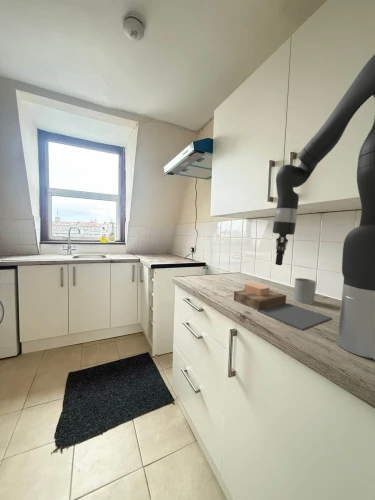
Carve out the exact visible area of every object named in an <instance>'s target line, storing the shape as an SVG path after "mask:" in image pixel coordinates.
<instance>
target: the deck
mask: <svg viewBox="0 0 375 500" xmlns="http://www.w3.org/2000/svg"><path fill="white" fill-rule="evenodd" d="M233 301H235V302H238V303H239V304H242V305H244V306H246V307H249V308H252V309H253V310H256V311H258V310H262V309H266V308H270V307H274V306H279V305H283V304H287V295H286V294H282V293H280V292H277V291H273V290H270V289H269V294H267V295H262V296H259V295H256V294H253V293H250V292H247V291H244V289H242V290H235V291H234V292H233Z"/></svg>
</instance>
